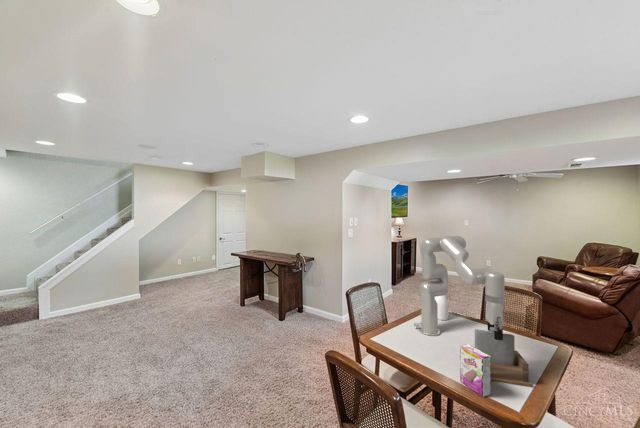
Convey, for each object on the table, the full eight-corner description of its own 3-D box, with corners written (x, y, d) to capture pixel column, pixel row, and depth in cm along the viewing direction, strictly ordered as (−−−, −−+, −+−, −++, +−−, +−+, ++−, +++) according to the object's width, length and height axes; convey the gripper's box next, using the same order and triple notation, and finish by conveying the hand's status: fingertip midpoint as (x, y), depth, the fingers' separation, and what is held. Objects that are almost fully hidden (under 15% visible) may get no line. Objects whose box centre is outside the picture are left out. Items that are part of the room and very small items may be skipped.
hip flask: (513, 372, 124) (513, 329, 124) (515, 376, 121) (515, 332, 120) (474, 364, 131) (474, 323, 131) (475, 368, 127) (475, 327, 127)
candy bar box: (459, 381, 119) (459, 345, 119) (467, 379, 121) (467, 343, 121) (482, 398, 108) (482, 358, 108) (491, 395, 110) (491, 355, 110)
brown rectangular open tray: (532, 387, 115) (532, 366, 115) (470, 377, 122) (470, 358, 122) (518, 367, 129) (518, 349, 129) (463, 360, 136) (463, 342, 136)
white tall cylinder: (449, 321, 184) (449, 278, 184) (434, 320, 187) (434, 277, 187) (447, 316, 193) (446, 275, 193) (432, 315, 196) (432, 274, 196)
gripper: (480, 292, 135) (480, 326, 135) (491, 304, 118) (491, 342, 118) (497, 294, 132) (497, 328, 133) (511, 305, 116) (511, 345, 116)
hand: (494, 335), depth 125 cm, fingers open, 9 cm apart
